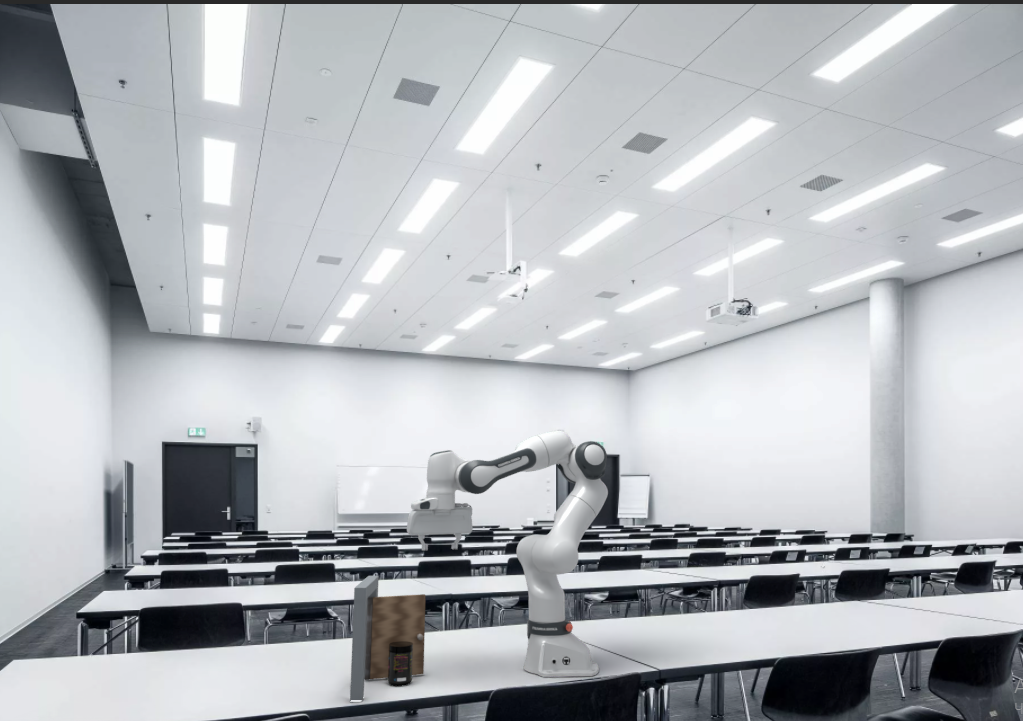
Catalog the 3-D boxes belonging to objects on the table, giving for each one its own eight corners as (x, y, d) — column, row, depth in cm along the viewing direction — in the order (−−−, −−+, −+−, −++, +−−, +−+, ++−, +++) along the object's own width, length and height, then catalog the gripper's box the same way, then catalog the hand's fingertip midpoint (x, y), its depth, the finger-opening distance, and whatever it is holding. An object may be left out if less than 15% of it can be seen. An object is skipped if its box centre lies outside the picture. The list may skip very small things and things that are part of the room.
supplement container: (408, 678, 195) (409, 640, 197) (414, 685, 189) (415, 645, 191) (385, 681, 192) (386, 642, 194) (390, 688, 186) (392, 647, 188)
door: (366, 681, 190) (369, 599, 194) (364, 678, 193) (367, 597, 197) (424, 675, 196) (426, 595, 200) (422, 672, 199) (424, 594, 203)
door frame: (364, 676, 197) (368, 575, 202) (375, 676, 197) (378, 575, 202) (349, 702, 173) (354, 587, 178) (361, 702, 174) (366, 587, 179)
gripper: (469, 502, 217) (468, 547, 215) (406, 503, 209) (404, 550, 207) (475, 503, 211) (475, 549, 209) (411, 504, 203) (410, 552, 201)
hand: (439, 549), depth 208 cm, fingers open, 8 cm apart
